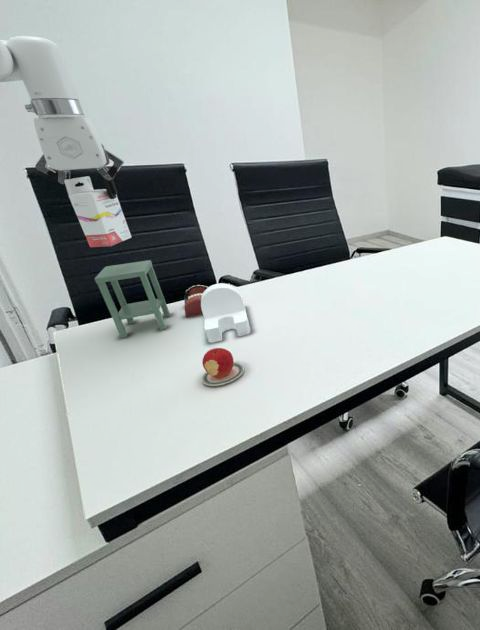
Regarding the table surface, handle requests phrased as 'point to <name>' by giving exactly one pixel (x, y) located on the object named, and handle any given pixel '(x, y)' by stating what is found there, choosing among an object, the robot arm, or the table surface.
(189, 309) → the teeth model
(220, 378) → the apple
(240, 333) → the white phone stand
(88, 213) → the ink cartridge box
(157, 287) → the high shelf
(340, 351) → the table surface
